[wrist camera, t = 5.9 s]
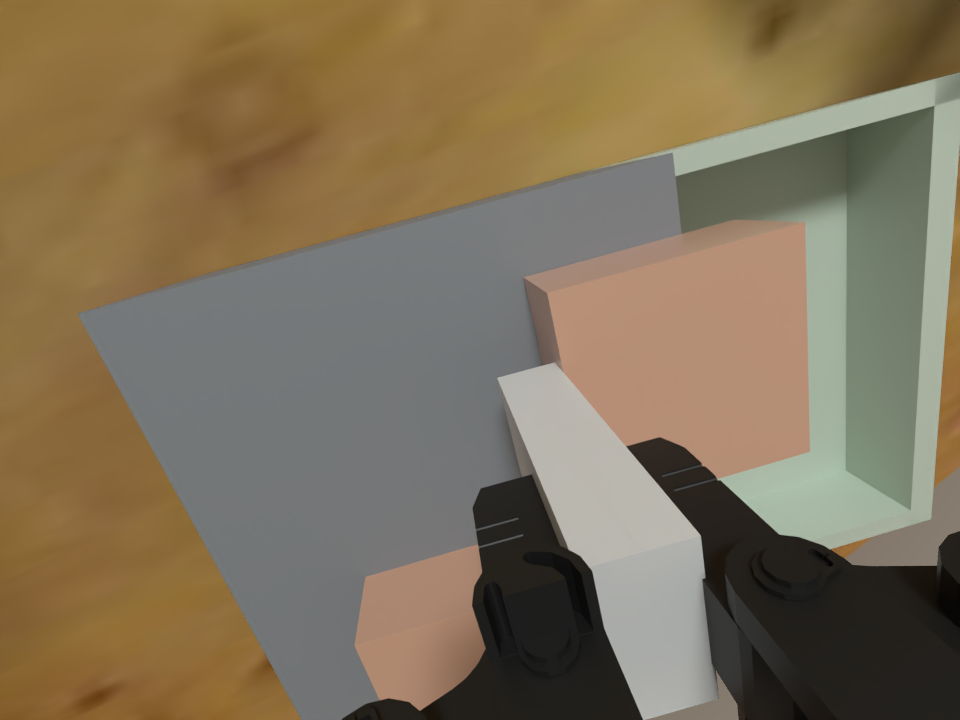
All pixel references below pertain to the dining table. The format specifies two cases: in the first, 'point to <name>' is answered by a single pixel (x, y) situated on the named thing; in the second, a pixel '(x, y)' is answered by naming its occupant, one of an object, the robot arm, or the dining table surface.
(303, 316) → the slate step
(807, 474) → the sage tray
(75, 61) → the dining table surface
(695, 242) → the terracotta tile
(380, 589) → the terracotta tile
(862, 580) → the robot arm
